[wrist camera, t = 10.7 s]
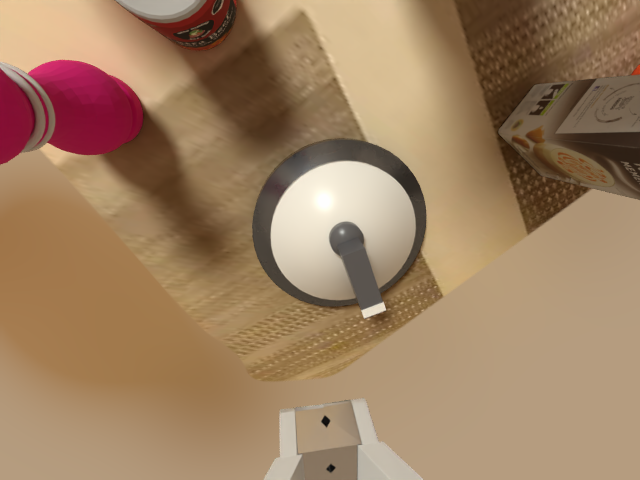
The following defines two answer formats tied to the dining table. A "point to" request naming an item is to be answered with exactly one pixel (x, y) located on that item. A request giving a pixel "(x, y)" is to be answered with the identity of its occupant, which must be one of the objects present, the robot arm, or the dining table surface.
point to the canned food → (186, 20)
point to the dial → (343, 232)
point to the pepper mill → (65, 109)
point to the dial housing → (308, 160)
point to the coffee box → (581, 132)
